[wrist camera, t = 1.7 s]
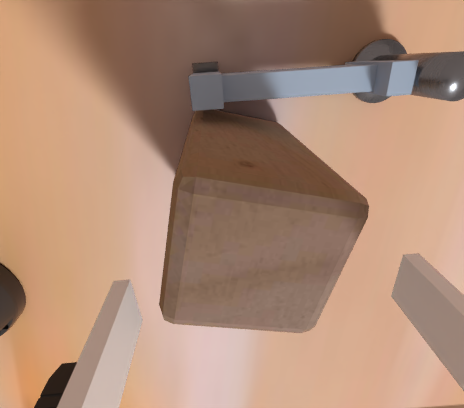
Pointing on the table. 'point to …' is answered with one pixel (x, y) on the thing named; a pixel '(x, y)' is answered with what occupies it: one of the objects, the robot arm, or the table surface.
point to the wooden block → (254, 228)
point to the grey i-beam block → (299, 82)
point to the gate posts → (419, 71)
